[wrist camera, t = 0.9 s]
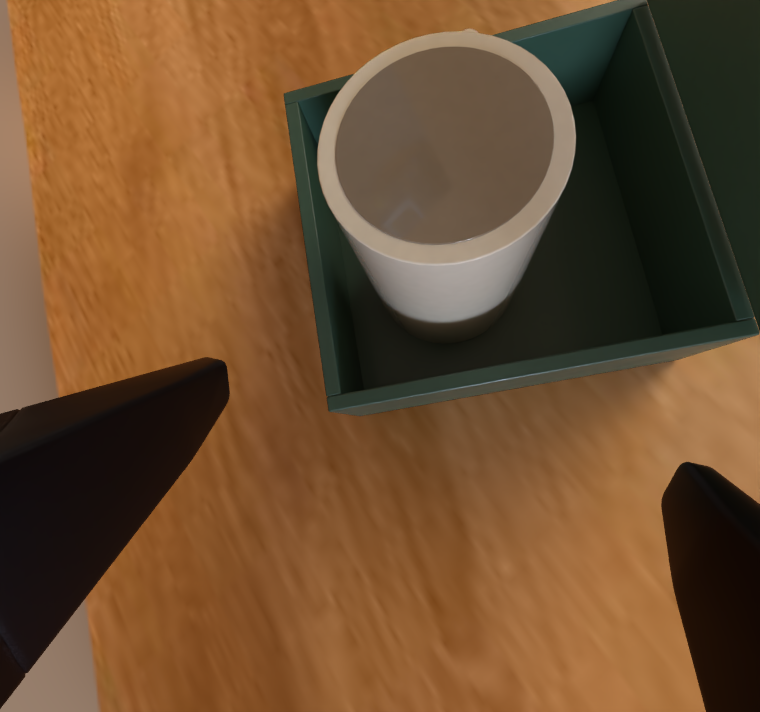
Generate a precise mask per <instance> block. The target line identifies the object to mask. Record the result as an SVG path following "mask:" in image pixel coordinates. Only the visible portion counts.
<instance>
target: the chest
mask: <svg viewBox="0 0 760 712" xmlns="http://www.w3.org/2000/svg"><path fill="white" fill-rule="evenodd" d="M492 36H495V37H498V38H501V39H504V40H507V41H509V42H512V43H514V44H516V45H518V46H520V47H522V48H523V49H525V50H527V51H528V52H530V53H531V54H533V55H534V56H535V57H537V58H538V59H539V60H540V61H541V62H542V63H543V64H545V65H546V66H547V67H548V69H549V70H550V71H551V72H552V73H553V74H554V76H555V77H556V78H557V80H558V81H559V83H560V84H561V86H562V88H563V89H564V91H565V93H566V95H567V98H568V100H569V102H570V105H571V108H572V112H573V116H574V120H575V129H576V151H575V157H574V162H573V167H572V170H571V173H570V176H569V179H568V181H567V184H566V186H565V188H564V191H563V193H562V195H561V197H560V199H559V201H558V203H557V205H556V208H555V210H554V212H553V214H552V216H551V218H550V220H549V222H548V225H547V227H546V229H545V231H544V233H543V235H542V237H541V239H540V242H539V244H538V246H537V248H536V250H535V252H534V254H533V256H532V259H531V261H530V263H529V265H528V267H527V269H526V271H525V273H524V276H523V278H522V280H521V282H520V284H519V286H518V288H517V290H516V293H515V295H514V297H513V299H512V301H511V303H510V305H509V307H508V309H507V310H506V312H505V313H504V314H503V316H502V317H501V318H500V319H499V320H498V321H497V322H496V324H494V325H493V326H492V327H491V328H490V329H488V330H487V331H485V332H484V333H482V334H480V335H478V336H476V337H474V338H472V339H469V340H465V341H462V342H456V343H433V342H429V341H425V340H422V339H419V338H416V337H414V336H412V335H410V334H408V333H407V332H406V331H404V330H403V329H401V328H400V327H399V326H398V325H397V324H396V323H395V322H394V321H393V320H392V319H391V317H390V316H389V315H388V313H387V312H386V310H385V308H384V306H383V305H382V303H381V301H380V299H379V297H378V296H377V294H376V292H375V290H374V288H373V286H372V285H371V283H370V281H369V279H368V277H367V275H366V274H365V272H364V270H363V268H362V266H361V265H360V263H359V261H358V259H357V257H356V255H355V254H354V252H353V250H352V248H351V246H350V244H349V243H348V241H347V239H346V237H345V235H344V234H343V232H342V230H341V228H340V226H339V224H338V223H337V221H336V219H335V217H334V215H333V213H332V212H331V210H330V208H329V206H328V204H327V201H326V199H325V197H324V195H323V192H322V188H321V185H320V181H319V175H318V167H317V150H318V143H319V137H320V133H321V129H322V126H323V122H324V119H325V117H326V115H327V113H328V110H329V108H330V106H331V104H332V103H333V101H334V99H335V98H336V96H337V94H338V93H339V91H340V90H341V89H342V88H343V86H344V85H345V84H346V82H347V81H348V80H349V79H350V78H351V77H352V76H353V75H354V74H352V75H348V76H345V77H341V78H338V79H334V80H330V81H327V82H323V83H320V84H316V85H312V86H309V87H305V88H302V89H298V90H295V91H291V92H287V93H284V101H285V108H286V115H287V122H288V129H289V136H290V143H291V150H292V157H293V164H294V171H295V178H296V185H297V192H298V199H299V207H300V214H301V221H302V228H303V235H304V242H305V249H306V256H307V263H308V270H309V277H310V284H311V291H312V298H313V305H314V312H315V319H316V326H317V334H318V341H319V348H320V355H321V362H322V369H323V376H324V383H325V390H326V396H328V397H327V403H328V410H329V412H335V413H342V414H349V415H355V416H363V415H369V414H375V413H380V412H386V411H391V410H397V409H403V408H408V407H414V406H420V405H425V404H431V403H437V402H442V401H448V400H454V399H459V398H465V397H471V396H476V395H482V394H488V393H493V392H499V391H505V390H510V389H516V388H522V387H527V386H533V385H539V384H544V383H550V382H555V381H561V380H567V379H572V378H578V377H584V376H589V375H595V374H601V373H606V372H612V371H618V370H623V369H629V368H635V367H640V366H646V365H652V364H657V363H663V362H669V361H674V360H679V359H682V358H685V357H688V356H691V355H695V354H698V353H701V352H704V351H708V350H711V349H714V348H717V347H721V346H724V345H727V344H730V343H734V342H737V341H740V340H743V339H747V338H750V337H753V336H756V335H759V333H760V332H759V329H758V326H757V323H756V321H755V319H754V313H753V311H752V308H751V305H750V302H749V299H748V296H747V293H746V290H745V287H744V284H743V281H742V278H741V275H740V272H739V270H738V267H737V264H736V261H735V258H734V255H733V252H732V249H731V246H730V243H729V240H728V237H727V234H726V231H725V229H724V226H723V223H722V220H721V217H720V214H719V211H718V208H717V205H716V202H715V199H714V196H713V193H712V190H711V188H710V185H709V182H708V179H707V176H706V173H705V170H704V167H703V164H702V161H701V158H700V155H699V152H698V149H697V147H696V144H695V141H694V138H693V135H692V132H691V129H690V126H689V123H688V120H687V117H686V114H685V111H684V108H683V106H682V103H681V100H680V97H679V94H678V91H677V88H676V85H675V82H674V79H673V76H672V73H671V70H670V67H669V65H668V62H667V59H666V56H665V53H664V50H663V47H662V44H661V41H660V38H659V35H658V32H657V29H656V26H655V24H654V21H653V18H652V15H651V12H650V9H649V6H648V3H647V0H617V1H613V2H610V3H606V4H602V5H599V6H595V7H592V8H588V9H584V10H581V11H577V12H574V13H570V14H567V15H563V16H559V17H556V18H552V19H549V20H545V21H542V22H538V23H534V24H531V25H527V26H524V27H520V28H516V29H513V30H509V31H506V32H502V33H499V34H495V35H492Z"/></svg>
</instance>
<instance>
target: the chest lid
mask: <svg viewBox="0 0 760 712" xmlns="http://www.w3.org/2000/svg"><path fill="white" fill-rule="evenodd" d="M647 2H648V5H649V8H650V11H651V14H652V17H653V20H654V23H655V26H656V29H657V32H658V35H659V38H660V41H661V43H662V46H663V49H664V52H665V55H666V58H667V61H668V64H669V67H670V70H671V73H672V76H673V79H674V82H675V84H676V87H677V90H678V93H679V96H680V99H681V102H682V105H683V108H684V111H685V114H686V117H687V120H688V123H689V125H690V128H691V131H692V134H693V137H694V140H695V143H696V146H697V149H698V152H699V155H700V158H701V161H702V163H703V166H704V169H705V172H706V175H707V178H708V181H709V184H710V187H711V190H712V193H713V196H714V199H715V202H716V204H717V207H718V210H719V213H720V216H721V219H722V222H723V225H724V228H725V231H726V234H727V237H728V240H729V243H730V245H731V248H732V251H733V254H734V257H735V260H736V263H737V266H738V269H739V272H740V275H741V278H742V281H743V284H744V286H745V289H746V292H747V295H748V298H749V301H750V304H751V307H752V310H753V313H754V316H755V319H756V322H757V324H758V327H759V330H760V0H647Z"/></svg>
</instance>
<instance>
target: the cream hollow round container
mask: <svg viewBox="0 0 760 712" xmlns="http://www.w3.org/2000/svg"><path fill="white" fill-rule="evenodd" d="M575 151H576V129H575V120H574V116H573V112H572V108H571V105H570V102H569V100H568V98H567V95H566V93H565V91H564V89H563V88H562V86H561V84H560V83H559V81H558V80H557V78H556V77H555V76H554V74H553V73H552V72H551V71H550V70H549V69H548V67H547V66H546V65H545V64H543V63H542V62H541V61H540V60H539V59H538V58H537V57H535V56H534V55H533V54H531V53H530V52H528V51H527V50H525V49H523V48H522V47H520V46H518V45H516V44H514V43H512V42H509V41H507V40H504V39H501V38H498V37H495V36H492V35H487V34H482V33H479V32H478V31H477V30H475V29H472V28H468V29H465V30H463V31H454V32H440V33H434V34H428V35H424V36H420V37H416V38H412V39H410V40H407V41H405V42H402V43H399V44H397V45H395V46H393V47H391V48H389V49H387V50H385V51H383V52H382V53H380V54H379V55H377V56H376V57H374V58H373V59H371V60H370V61H369V62H367V63H366V64H365V65H364V66H363V67H361V68H360V69H359V70H358V71H357V72H356V73H355V74H354V75H353V76H352V77H351V78H350V79H349V80H348V81H347V82H346V84H345V85H344V86H343V88H342V89H341V90H340V91H339V93H338V94H337V96H336V98H335V99H334V101H333V103H332V104H331V106H330V108H329V110H328V113H327V115H326V117H325V119H324V122H323V126H322V129H321V133H320V137H319V143H318V150H317V167H318V175H319V181H320V185H321V188H322V192H323V195H324V197H325V199H326V201H327V204H328V206H329V208H330V210H331V212H332V213H333V215H334V217H335V219H336V221H337V223H338V224H339V226H340V228H341V230H342V232H343V234H344V235H345V237H346V239H347V241H348V243H349V244H350V246H351V248H352V250H353V252H354V254H355V255H356V257H357V259H358V261H359V263H360V265H361V266H362V268H363V270H364V272H365V274H366V275H367V277H368V279H369V281H370V283H371V285H372V286H373V288H374V290H375V292H376V294H377V296H378V297H379V299H380V301H381V303H382V305H383V306H384V308H385V310H386V312H387V313H388V315H389V316H390V317H391V319H392V320H393V321H394V322H395V323H396V324H397V325H398V326H399V327H400V328H401V329H403V330H404V331H406V332H407V333H408V334H410V335H412V336H414V337H416V338H419V339H422V340H425V341H429V342H433V343H456V342H462V341H465V340H469V339H472V338H474V337H476V336H478V335H480V334H482V333H484V332H485V331H487V330H488V329H490V328H491V327H492V326H493V325H494V324H496V322H497V321H498V320H499V319H500V318H501V317H502V316H503V314H504V313H505V312H506V310H507V309H508V307H509V305H510V303H511V301H512V299H513V297H514V295H515V293H516V290H517V288H518V286H519V284H520V282H521V280H522V278H523V276H524V273H525V271H526V269H527V267H528V265H529V263H530V261H531V259H532V256H533V254H534V252H535V250H536V248H537V246H538V244H539V242H540V239H541V237H542V235H543V233H544V231H545V229H546V227H547V225H548V222H549V220H550V218H551V216H552V214H553V212H554V210H555V208H556V205H557V203H558V201H559V199H560V197H561V195H562V193H563V191H564V188H565V186H566V184H567V181H568V179H569V176H570V173H571V170H572V167H573V162H574V157H575Z"/></svg>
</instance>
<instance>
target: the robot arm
mask: <svg viewBox="0 0 760 712" xmlns="http://www.w3.org/2000/svg"><path fill="white" fill-rule="evenodd" d="M229 394H230V391H229V382H228V373H227V366H226V364H225V362H223V361H222V360H218V359H213V358H209V357H205V358H201V359H197V360H194V361H190V362H186V363H183V364H179V365H175V366H172V367H168V368H165V369H161V370H157V371H154V372H150V373H147V374H143V375H139V376H136V377H132V378H128V379H125V380H121V381H118V382H114V383H110V384H107V385H103V386H99V387H96V388H92V389H89V390H85V391H81V392H78V393H74V394H71V395H67V396H63V397H60V398H56V399H53V400H49V401H45V402H42V403H38V404H34V405H31V406H27V407H24V408H22V409H21V410H18V409H16V410H12V411H9V412H5V413H1V414H0V709H1V707H2V706H3V704H4V703H5V702H6V701H7V699H8V698H9V697H10V696H11V694H12V693H13V691H14V690H15V689H16V688H17V687H18V685H19V684H20V683H21V681H22V680H23V679H24V677H25V673H28V672H29V670H30V669H31V668H32V666H33V665H34V664H35V663H36V661H37V660H38V659H39V657H40V656H41V655H42V654H43V652H44V651H45V650H46V648H47V647H48V646H49V644H50V643H51V642H52V641H53V639H54V638H55V637H56V635H57V634H58V633H59V631H60V630H61V629H62V628H63V626H64V625H65V624H66V623H67V621H68V620H69V619H70V617H71V616H72V615H73V614H74V612H75V611H76V610H77V608H78V607H79V606H80V604H81V603H82V602H83V601H84V599H85V598H86V597H87V595H88V594H89V593H90V591H91V590H92V589H93V588H94V586H95V585H96V584H97V582H98V581H99V580H100V579H101V577H102V576H103V575H104V573H105V572H106V571H107V569H108V568H109V567H110V566H111V564H112V563H113V562H114V560H115V559H116V558H117V557H118V555H119V554H120V553H121V551H122V550H123V549H124V547H125V546H126V545H127V544H128V542H129V541H130V540H131V538H132V537H133V536H134V535H135V533H136V532H137V531H138V529H139V528H140V527H141V525H142V524H143V523H144V522H145V520H146V519H147V518H148V516H149V515H150V514H151V512H152V511H153V510H154V509H155V507H156V506H157V505H158V503H159V502H160V501H161V500H162V498H163V497H164V496H165V494H166V493H167V492H168V490H169V489H170V488H171V487H172V485H173V484H174V483H175V481H176V480H177V479H178V478H179V476H180V475H181V474H182V472H183V471H184V470H185V468H186V467H187V466H188V464H189V463H190V462H191V460H192V459H193V457H194V456H195V454H196V453H197V451H198V450H199V448H200V447H201V445H202V443H203V442H204V440H205V439H206V437H207V435H208V434H209V432H210V430H211V429H212V427H213V426H214V424H215V422H216V421H217V419H218V417H219V416H220V414H221V413H222V411H223V409H224V408H225V406H226V404H227V402H228V400H229ZM661 507H662V514H663V521H664V528H665V535H666V542H667V549H668V556H669V563H670V570H671V577H672V582H673V588H674V592H675V596H676V600H677V604H678V608H679V612H680V616H681V619H682V623H683V627H684V631H685V634H686V638H687V642H688V646H689V649H690V653H691V657H692V661H693V664H694V668H695V672H696V676H697V679H698V683H699V687H700V691H701V695H702V698H703V702H704V706H705V710H706V712H760V504H759V503H757V502H756V501H755V500H753V499H752V498H751V497H749V496H748V495H747V494H746V493H744V492H743V491H742V490H740V489H739V488H738V487H736V486H735V485H734V484H733V483H731V482H730V481H729V480H727V479H726V478H725V477H723V476H722V475H721V474H719V473H718V472H717V471H716V470H714V469H713V468H711V467H708V466H704V465H699V464H695V463H690V462H685V463H682V464H681V465H680V466H679V467H678V469H677V470H676V472H675V474H674V476H673V478H672V479H671V481H670V483H669V485H668V487H667V488H666V490H665V492H664V494H663V497H662V503H661Z"/></svg>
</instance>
